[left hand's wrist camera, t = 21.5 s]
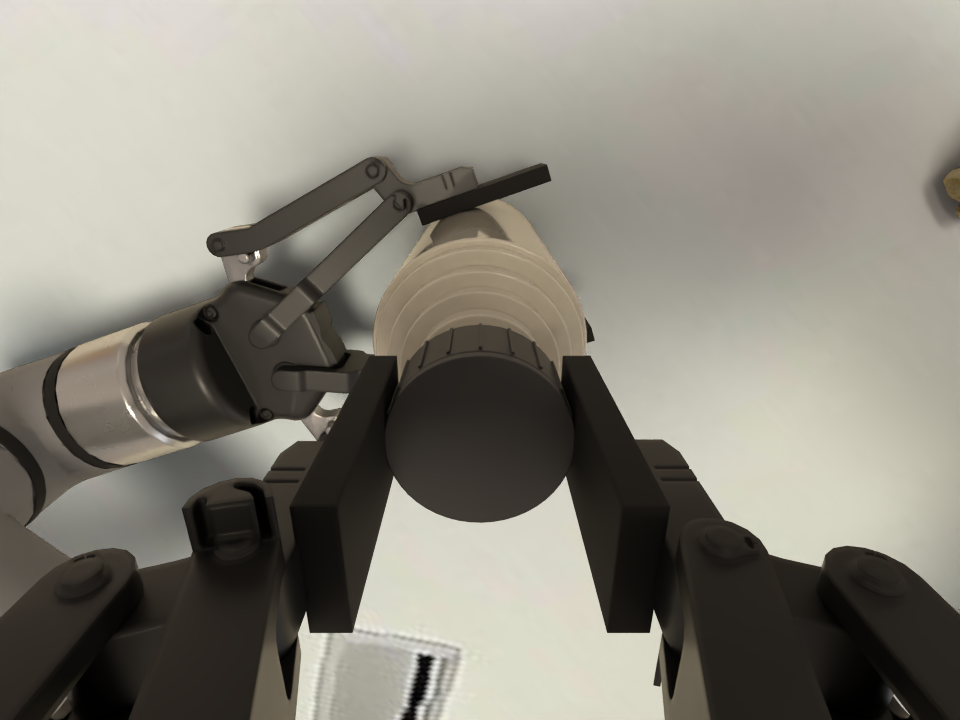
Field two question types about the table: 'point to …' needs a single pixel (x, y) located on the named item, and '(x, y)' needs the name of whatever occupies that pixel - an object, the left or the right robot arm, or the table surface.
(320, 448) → the left robot arm
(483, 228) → the bottle
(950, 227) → the table surface
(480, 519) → the cap
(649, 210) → the table surface
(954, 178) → the sculpture
